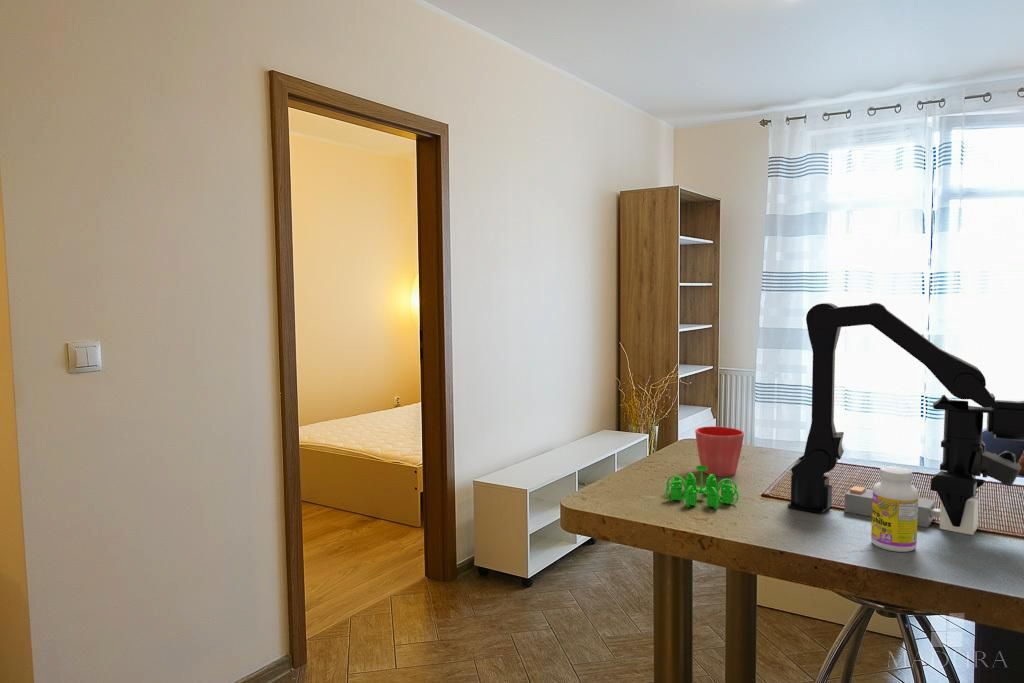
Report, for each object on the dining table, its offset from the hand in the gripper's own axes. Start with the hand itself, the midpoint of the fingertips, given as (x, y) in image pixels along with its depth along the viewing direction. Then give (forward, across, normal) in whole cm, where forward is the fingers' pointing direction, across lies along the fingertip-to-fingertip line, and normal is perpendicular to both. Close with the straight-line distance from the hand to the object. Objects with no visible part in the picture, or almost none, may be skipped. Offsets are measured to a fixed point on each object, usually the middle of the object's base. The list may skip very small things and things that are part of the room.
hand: (958, 522), depth 125 cm
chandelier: (+2, -13, +43) cm, 45 cm away
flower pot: (+1, +10, +49) cm, 50 cm away
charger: (+1, 0, +1) cm, 2 cm away
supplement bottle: (+1, -17, +7) cm, 18 cm away
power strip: (+1, 0, +11) cm, 11 cm away
